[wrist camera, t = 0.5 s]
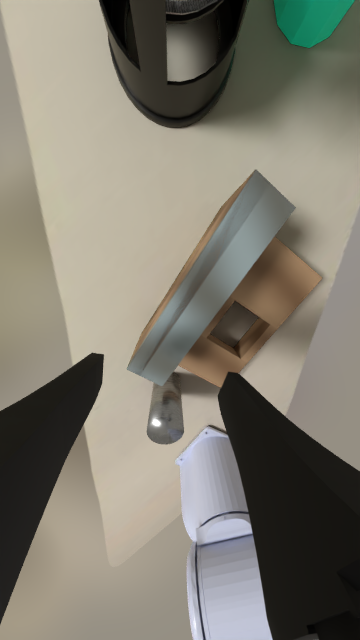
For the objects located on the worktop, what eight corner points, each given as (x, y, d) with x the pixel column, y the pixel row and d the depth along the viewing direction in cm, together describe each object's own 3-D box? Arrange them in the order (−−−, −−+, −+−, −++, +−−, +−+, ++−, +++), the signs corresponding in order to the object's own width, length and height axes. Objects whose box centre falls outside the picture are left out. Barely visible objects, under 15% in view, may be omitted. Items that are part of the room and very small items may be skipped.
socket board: (218, 376, 23) (237, 422, 16) (141, 334, 20) (126, 369, 14) (303, 276, 19) (374, 283, 12) (221, 206, 16) (256, 169, 10)
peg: (171, 396, 24) (171, 448, 17) (149, 386, 23) (140, 436, 16) (185, 378, 23) (190, 426, 16) (162, 367, 22) (159, 412, 15)
